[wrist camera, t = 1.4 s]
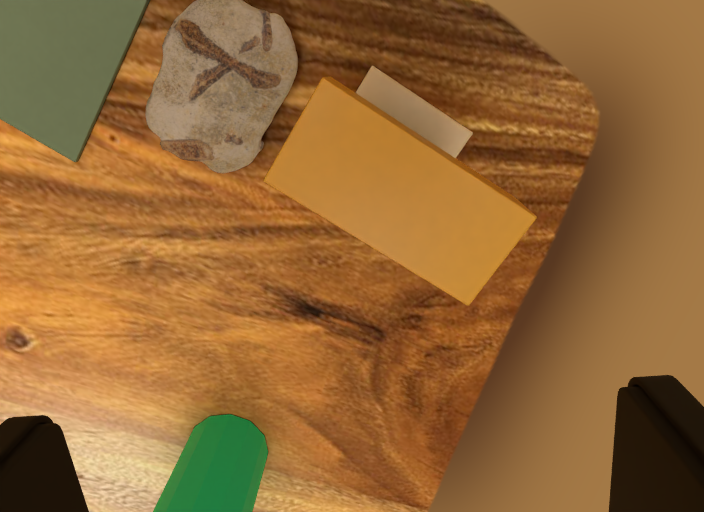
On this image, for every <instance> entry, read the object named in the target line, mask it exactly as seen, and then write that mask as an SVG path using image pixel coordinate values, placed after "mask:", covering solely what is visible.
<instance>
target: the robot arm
mask: <svg viewBox="0 0 704 512" xmlns="http://www.w3.org/2000/svg"><path fill="white" fill-rule="evenodd" d="M609 503H610V504H609V512H704V407H703V406H702V405H701V404H700V403H699V402H698V401H697V399H696V398H694V396H693V395H692V394H691V393H690V392H689V391H688V390H687V389H686V388H685V387H684V386H683V385H682V384H681V383H680V382H679V381H678V380H677V379H676V378H674V377H673V376H670V375H662V376H648V377H647V376H646V377H633V378H632V379H631V380H630V381H629V383H628V387H622V388H620V389H619V391H618V396H617V410H616V422H615V435H614V449H613V462H612V476H611V489H610V502H609ZM0 512H89V511H88V508H87V505H86V502H85V499H84V495H83V492H82V489H81V486H80V483H79V480H78V477H77V474H76V471H75V468H74V465H73V462H72V459H71V456H70V453H69V450H68V447H67V443H66V440H65V437H64V434H63V431H62V429H61V427H60V426H59V425H58V424H55V423H53V421H52V420H51V419H50V418H49V417H48V416H44V415H40V416H24V417H12V418H8V419H7V420H5V421H4V422H3V423H2V424H1V425H0Z"/></svg>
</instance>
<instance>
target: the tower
mask: <svg viewBox="0 0 704 512" xmlns="http://www.w3.org/2000/svg"><path fill="white" fill-rule="evenodd" d="M356 93H357V94H358V95H360V96H361V97H363V98H364V99H366V100H367V101H369V102H370V103H372V104H373V105H375V106H376V107H378V108H379V109H381V110H382V111H384V112H386V113H387V114H389V115H390V116H392V117H393V118H395V119H396V120H398V121H399V122H401V123H402V124H404V125H405V126H407V127H408V128H410V129H411V130H413V131H415V132H416V133H418V134H419V135H421V136H422V137H424V138H425V139H427V140H428V141H430V142H431V143H433V144H434V145H436V146H437V147H439V148H440V149H442V150H444V151H445V152H447V153H448V154H450V155H451V156H453V157H454V158H456V157H457V156H458V154H459V153H460V151H461V150H462V148H463V147H464V145H465V144H466V143H467V141H468V140H469V138H470V137H471V135H472V134H473V132H471V131H470V130H468V129H467V128H466V127H464V126H463V125H461V124H460V123H458V122H457V121H455V120H454V119H452V118H451V117H449V116H448V115H446V114H445V113H443V112H442V111H440V110H439V109H437V108H436V107H434V106H433V105H431V104H430V103H428V102H427V101H425V100H424V99H422V98H421V97H419V96H418V95H416V94H415V93H413V92H412V91H410V90H409V89H407V88H406V87H404V86H403V85H401V84H400V83H398V82H397V81H395V80H394V79H392V78H391V77H389V76H388V75H386V74H385V73H383V72H382V71H380V70H379V69H377V68H376V67H374V66H371V68H370V69H369V71H368V73H367V74H366V76H365V78H364V79H363V81H362V83H361V84H360V86H359V88H358V89H357V91H356Z"/></svg>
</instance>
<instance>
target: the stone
mask: <svg viewBox="0 0 704 512" xmlns="http://www.w3.org/2000/svg"><path fill="white" fill-rule="evenodd" d="M162 46H163V62H162V66H161V69H160V71H159V74H158V76H157V78H156V80H155V82H154V85H153V90H152V93H151V96H150V98H149V99H148V102H147V105H146V120H147V124H148V126H149V128H150V129H151V130H152V132H154V133H155V134H157V135H158V136H159V137H160V138H161V142H160V145H161V147H162V149H163V150H167V151H169V152H171V153H173V154H175V155H176V156H177V157H179V158H180V159H183V160H189V161H201V162H203V163H204V164H206V165H207V166H208V167H209V168H210V169H211V170H213V171H215V172H217V173H227V172H232V171H236V170H238V169H241V168H243V167H245V166H247V165H249V164H250V163H251V162H252V161H253V160H254V158H255V157H256V156H257V154H258V152H259V151H261V150H262V148H263V145H264V143H263V141H261V139H262V136H263V134H264V132H265V131H266V130H267V128H268V127H269V125H270V123H271V122H272V120H273V117H274V115H275V113H276V112H277V110H278V108H279V107H280V105H281V104H282V102H283V101H284V99H285V98H286V96H287V94H288V92H289V90H290V88H291V86H292V84H293V82H294V79H295V76H296V73H297V67H298V56H297V52H296V48H295V44H294V41H293V38H292V35H291V31H290V29H289V27H288V26H287V24H286V23H285V21H284V19H283V18H282V16H280V15H278V14H276V13H269V12H268V11H266V10H262V9H260V10H258V9H257V8H255V7H252V6H251V5H249V4H247V3H246V2H244V1H242V0H196V1H195V2H193V3H192V4H191V5H189V6H188V7H187V8H186V9H185V11H184V12H183V13H182V14H181V15H179V16H178V17H177V18H176V19H175V20H174V23H173V24H172V26H171V27H170V28H169V31H168V33H167V36H166V37H165V40H164V43H163V45H162Z"/></svg>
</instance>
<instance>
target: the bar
mask: <svg viewBox="0 0 704 512" xmlns="http://www.w3.org/2000/svg"><path fill="white" fill-rule="evenodd" d="M263 181H264V182H265V183H267V184H268V185H270V186H272V187H273V188H275V189H277V190H278V191H280V192H281V193H283V194H285V195H286V196H288V197H290V198H291V199H293V200H295V201H296V202H298V203H300V204H301V205H303V206H305V207H306V208H308V209H309V210H311V211H313V212H314V213H316V214H318V215H319V216H321V217H323V218H324V219H326V220H328V221H329V222H331V223H332V224H334V225H336V226H337V227H339V228H341V229H342V230H344V231H346V232H347V233H349V234H351V235H352V236H354V237H355V238H357V239H359V240H360V241H362V242H364V243H365V244H367V245H369V246H370V247H372V248H374V249H375V250H377V251H379V252H380V253H382V254H383V255H385V256H387V257H388V258H390V259H392V260H393V261H395V262H397V263H398V264H400V265H402V266H403V267H405V268H406V269H408V270H410V271H411V272H413V273H415V274H416V275H418V276H420V277H421V278H423V279H425V280H426V281H428V282H430V283H431V284H433V285H434V286H436V287H438V288H439V289H441V290H443V291H444V292H446V293H448V294H449V295H451V296H453V297H454V298H456V299H457V300H459V301H461V302H462V303H464V304H466V305H468V306H469V305H470V303H471V302H472V301H473V299H474V298H475V297H476V296H477V294H478V293H479V292H480V290H481V289H482V288H483V286H484V285H485V284H486V283H487V281H488V280H489V279H490V277H491V276H492V275H493V274H494V272H495V271H496V270H497V268H498V267H499V266H500V265H501V263H502V262H503V261H504V259H505V258H506V257H507V255H508V254H509V253H510V252H511V250H512V249H513V248H514V246H515V245H516V244H517V243H518V241H519V240H520V239H521V237H522V236H523V235H524V234H525V232H526V231H527V230H528V228H529V227H530V226H531V225H532V223H533V222H534V221H535V219H536V218H537V217H536V216H535V215H534V214H533V213H532V212H531V211H530V210H529V209H528V208H526V207H525V206H524V205H523V204H522V203H521V202H520V201H519V200H518V199H516V198H515V197H514V196H512V195H511V194H509V193H508V192H506V191H505V190H503V189H502V188H500V187H499V186H497V185H495V184H494V183H492V182H491V181H489V180H488V179H486V178H485V177H483V176H482V175H480V174H479V173H477V172H476V171H474V170H473V169H471V168H470V167H468V166H466V165H465V164H463V163H462V162H460V161H459V160H457V159H456V158H454V157H453V156H451V155H450V154H448V153H447V152H445V151H444V150H442V149H440V148H439V147H437V146H436V145H434V144H433V143H431V142H430V141H428V140H427V139H425V138H424V137H422V136H421V135H419V134H418V133H416V132H415V131H413V130H411V129H410V128H408V127H407V126H405V125H404V124H402V123H401V122H399V121H398V120H396V119H395V118H393V117H392V116H390V115H389V114H387V113H386V112H384V111H382V110H381V109H379V108H378V107H376V106H375V105H373V104H372V103H370V102H369V101H367V100H366V99H364V98H363V97H361V96H360V95H358V94H357V93H355V92H353V91H352V90H350V89H349V88H347V87H346V86H344V85H343V84H341V83H340V82H338V81H337V80H335V79H334V78H332V77H331V76H327V77H323V78H322V79H321V81H320V82H319V84H318V86H317V87H316V89H315V91H314V93H313V94H312V96H311V98H310V100H309V101H308V103H307V105H306V107H305V108H304V110H303V112H302V114H301V115H300V117H299V119H298V121H297V122H296V124H295V126H294V128H293V129H292V131H291V133H290V134H289V136H288V138H287V140H286V141H285V143H284V145H283V147H282V148H281V150H280V152H279V154H278V155H277V157H276V159H275V161H274V162H273V164H272V166H271V168H270V169H269V171H268V173H267V174H266V176H265V178H264V180H263Z"/></svg>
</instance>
